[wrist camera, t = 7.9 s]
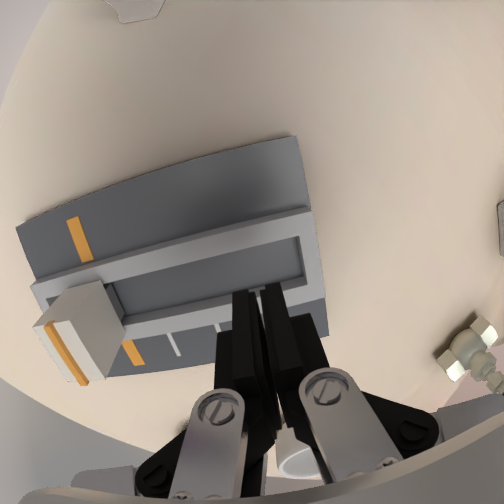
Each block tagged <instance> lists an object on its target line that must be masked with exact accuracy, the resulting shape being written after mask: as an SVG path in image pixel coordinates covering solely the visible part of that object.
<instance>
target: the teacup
mask: <svg viewBox="0 0 504 504" xmlns="http://www.w3.org/2000/svg"><path fill="white" fill-rule="evenodd" d="M276 461H277V467H278V470H279V473H280V474H281V475H282V476H284V477H287V478H292V479H307V478H313V477H318V476H321V475H320V472H319V470H318V468H317V465H316V463H315V460H314V458H313V456H312V453H311V451H310V448H309V446H308V445H306V444H304V443H302V442H301V441H299V440H297V439H296V437H295V434H294V430H293V428H287V425H286V422H285V423H284V424H283V425H282V430H279V432H278V434H277V439H276Z"/></svg>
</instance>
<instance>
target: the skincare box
mask: <svg viewBox="0 0 504 504" xmlns="http://www.w3.org/2000/svg"><path fill="white" fill-rule="evenodd" d="M498 218H499V233H500V254H501V255H502V256H504V201H503V202H501V203H500V204H499V205H498Z"/></svg>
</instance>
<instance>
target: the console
mask: <svg viewBox="0 0 504 504" xmlns="http://www.w3.org/2000/svg"><path fill="white" fill-rule="evenodd" d="M16 231H17V234H18V236H19V239H20V242H21V244H22V247H23V250H24V252H25V255H26V257H27V260H28V262H29V264H30V267H31V269H32V271H33V274H34V276H35V278H36V281H35V282H34V283H33V284H32V285H31V286H30V288H31V290H32V292H33V294H34V296H35V298H36V300H37V302H38V304H39V306H40V308H41V310H42V312H43V314H44V313H45V312H46V311H47V309H48V308H49V307H50V306H51V305H52V304H53V303H54V301H55V300H56V299H57V298H58V297H59V296H60V295H61V294H62V293H63V292H64V290H65V289H68V288H72V287H76V286H80V285H84V284H87V283H91V282H95V281H99V280H101V282H102V284H103V285H105V284H109V283H111V285H112V287H113V289H114V291H115V293H116V296H117V298H118V300H119V302H120V304H121V306H122V309H123V311H124V313H125V314H124V316H123V318H122V320H121V324H122V326H123V328H124V330H125V332H126V334H125V337H124V339H123V341H122V343H121V345H120V348H119V350H118V352H117V354H116V357H115V359H114V361H113V364H112V366H111V368H110V371H109V373H108V375H107V377H115V376H125V375H134V374H143V373H151V372H159V371H166V370H173V369H180V368H186V367H192V366H198V365H204V364H210V363H215V358H216V341H217V333H218V332H221V331H227V330H232V292H234V291H239V290H243V289H248V290H249V292H253V291H255V294H256V298H257V301H258V305H259V309H260V313H261V317H262V320H263V324H264V319H263V312H262V305H261V298H260V291H259V290H263V289H265V285H266V284H270V283H275V282H279V281H280V284H281V287H282V291H283V295H284V298H285V302H286V306H287V310H288V313H289V317H293V316H297V315H301V314H306V313H310V314H311V316H312V319H313V321H314V324H315V327H316V329H317V332H318V335H319V338H322V337H326V336H329V329H328V320H327V312H326V304H325V297H326V296H325V288H324V281H323V273H322V266H321V260H320V253H319V247H318V240H317V234H316V228H315V222H314V216H313V211H312V210H311V206H310V201H309V195H308V190H307V185H306V180H305V174H304V169H303V165H302V160H301V155H300V150H299V146H298V141H297V137H296V136H288V137H283V138H278V139H273V140H269V141H264V142H259V143H255V144H250V145H246V146H242V147H238V148H234V149H229V150H225V151H222V152H218V153H214V154H210V155H206V156H203V157H199V158H195V159H192V160H188V161H185V162H182V163H178V164H175V165H172V166H168V167H165V168H162V169H159V170H156V171H153V172H149V173H146V174H143V175H140V176H138V177H135V178H132V179H129V180H126V181H123V182H120V183H118V184H115V185H112V186H109V187H107V188H104V189H101V190H99V191H96V192H94V193H91V194H89V195H86V196H84V197H81V198H79V199H76V200H74V201H71V202H69V203H67V204H64V205H62V206H60V207H57V208H55V209H53V210H51V211H48V212H46V213H44V214H42V215H40V216H37V217H35V218H33V219H31V220H29V221H27V222H25V223H23V224H21V225H19V226H17V227H16ZM264 328H265V326H264Z"/></svg>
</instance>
